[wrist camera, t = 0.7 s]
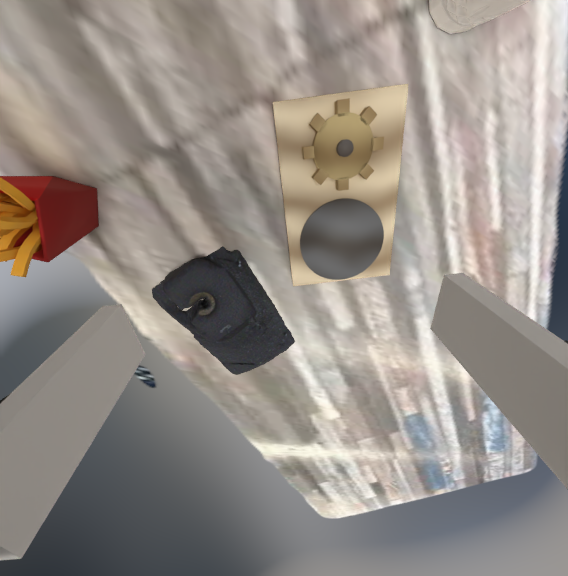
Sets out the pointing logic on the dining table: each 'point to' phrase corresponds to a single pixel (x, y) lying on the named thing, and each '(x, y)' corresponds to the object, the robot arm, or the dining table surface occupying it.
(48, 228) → the french fries
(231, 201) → the dining table surface
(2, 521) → the robot arm
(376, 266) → the gear board
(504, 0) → the white cup
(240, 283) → the dark slate chunk
